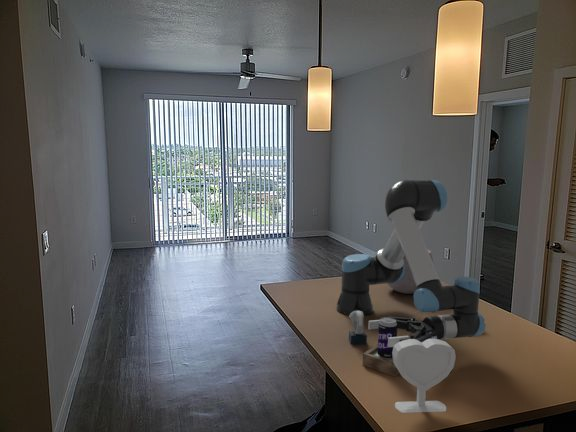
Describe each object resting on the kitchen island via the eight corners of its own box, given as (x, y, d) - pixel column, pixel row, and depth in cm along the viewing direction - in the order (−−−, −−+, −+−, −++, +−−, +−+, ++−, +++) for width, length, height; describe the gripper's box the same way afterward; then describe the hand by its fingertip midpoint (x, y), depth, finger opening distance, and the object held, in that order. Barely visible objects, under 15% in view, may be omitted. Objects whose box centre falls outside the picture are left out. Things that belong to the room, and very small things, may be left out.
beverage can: (375, 352, 141) (376, 316, 139) (392, 352, 141) (394, 316, 140) (380, 361, 135) (381, 323, 134) (398, 360, 136) (400, 323, 134)
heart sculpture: (394, 413, 113) (398, 346, 110) (388, 402, 117) (391, 338, 115) (453, 411, 114) (458, 345, 111) (445, 400, 119) (449, 337, 116)
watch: (362, 336, 160) (364, 307, 158) (367, 346, 152) (368, 315, 150) (347, 336, 159) (348, 307, 158) (351, 346, 152) (352, 315, 150)
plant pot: (379, 283, 227) (382, 226, 223) (427, 286, 224) (430, 227, 220) (382, 298, 204) (385, 234, 200) (436, 301, 200) (440, 236, 196)
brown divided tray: (362, 364, 138) (362, 353, 138) (390, 345, 153) (391, 335, 152) (394, 376, 131) (395, 364, 131) (421, 355, 146) (421, 344, 145)
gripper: (462, 355, 130) (397, 363, 125) (417, 324, 154) (361, 329, 149) (463, 331, 129) (398, 338, 124) (418, 303, 153) (362, 308, 148)
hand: (378, 333), depth 136 cm, fingers open, 13 cm apart
